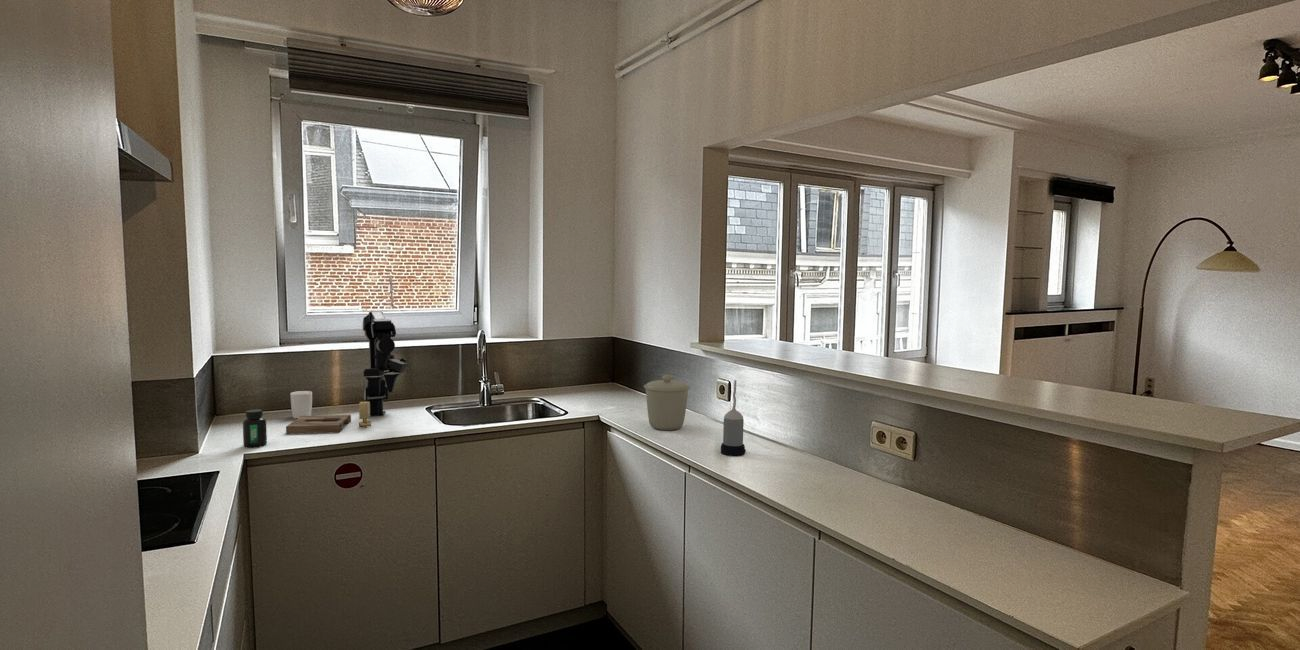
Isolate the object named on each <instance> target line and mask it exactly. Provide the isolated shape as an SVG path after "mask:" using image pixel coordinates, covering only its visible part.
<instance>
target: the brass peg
mask: <svg viewBox="0 0 1300 650" xmlns="http://www.w3.org/2000/svg"><path fill="white" fill-rule="evenodd" d="M358 414H359V415H358V417H359V418H358V419H359V420H362V421H359V422H358V428H368V427H367V426H370V427H371V426H372V422H371V421H370V420H369V419H370V418H371V416H370V402H368V401H359V404H358Z"/></svg>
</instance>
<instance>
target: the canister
mask: <svg viewBox="0 0 1300 650" xmlns="http://www.w3.org/2000/svg"><path fill="white" fill-rule="evenodd" d="M672 378H673V377H672V375H670V374H664V375H662V379H660V380H658V379H657V380H651V381H649V382H647V383H646V384H644V385H643V387H644V389H645V396H646V409H647V416H648V417H647V418H648V422H649V425H650V426H651V428H653V429H656V430H660V431H673V430H678V429H680V428H682V427H683V425H684V422H685V417H686V411H687V405H688V397H689V390H690V389H691V386H690V385H688V384H687V383H686V382H683V381H680V380H672Z"/></svg>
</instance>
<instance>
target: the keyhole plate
mask: <svg viewBox="0 0 1300 650" xmlns="http://www.w3.org/2000/svg"><path fill="white" fill-rule="evenodd" d="M351 422H352V415H351V414H349V413H348V414H317V415H314V414H313V415H312V414H311V416H300V417H299V418H297V419H296V418H295V420H293V421H292V422H290V423H289V424H287V425H286V426H285V434H286V435H289V434H288V433H304V434H328V433H327V432H334V433H340V432H342V431H343V425H349V424H350V423H351Z"/></svg>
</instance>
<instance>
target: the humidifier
mask: <svg viewBox="0 0 1300 650" xmlns="http://www.w3.org/2000/svg"><path fill="white" fill-rule="evenodd" d="M736 393H737V380H736V379H735V380H733V392H732V394H730V397H729V398H731V396H732V399H733V405H732V407H731V404H732V403H731V399H730V400H729V401H730V405H729V407H730V408H729V411H727V412H726V413H725V414H724V416H723V428H722V431H723V436H722V443H721V445H720V454H721V455H724V456H727V457H742V456H744V455H745V453H746V452H747V450H746V445H745V444H744V422H745V421H744V416H743V415H742V413H741V412H740V411H737V409H736V407H737V406H736V405H737V396H736V395H737V394H736Z"/></svg>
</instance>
